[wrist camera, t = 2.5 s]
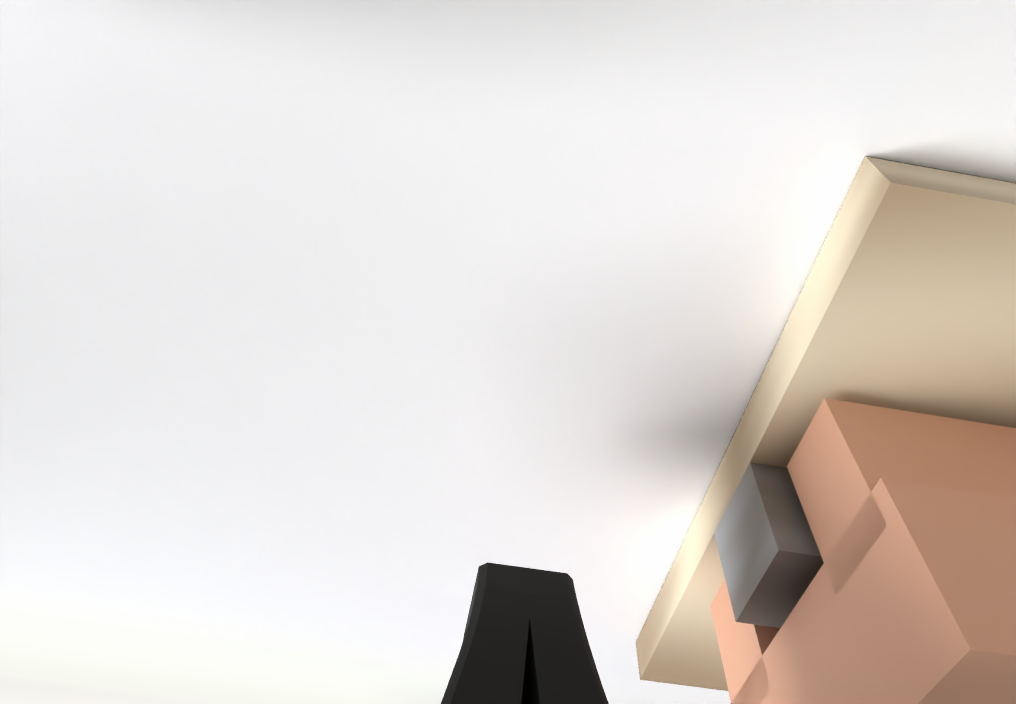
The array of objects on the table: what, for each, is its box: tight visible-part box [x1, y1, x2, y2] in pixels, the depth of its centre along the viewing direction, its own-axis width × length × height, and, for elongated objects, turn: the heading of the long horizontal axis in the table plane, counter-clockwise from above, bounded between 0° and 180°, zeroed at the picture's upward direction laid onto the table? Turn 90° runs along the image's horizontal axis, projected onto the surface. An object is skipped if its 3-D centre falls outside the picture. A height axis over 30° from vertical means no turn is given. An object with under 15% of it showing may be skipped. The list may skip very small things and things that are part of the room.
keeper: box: [710, 398, 1016, 704], centre depth 12 cm, size 6×5×5 cm
